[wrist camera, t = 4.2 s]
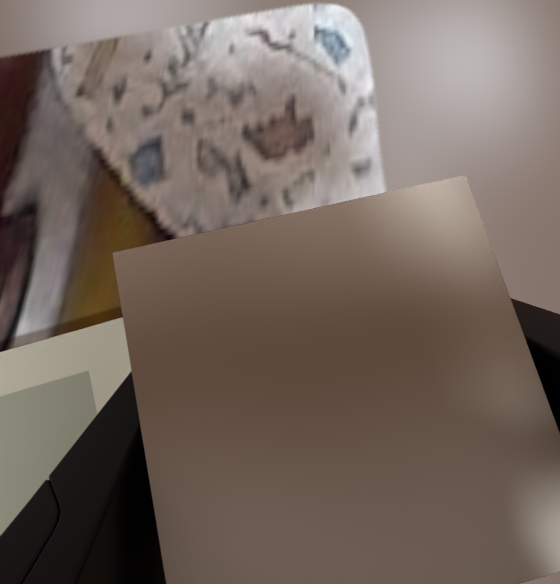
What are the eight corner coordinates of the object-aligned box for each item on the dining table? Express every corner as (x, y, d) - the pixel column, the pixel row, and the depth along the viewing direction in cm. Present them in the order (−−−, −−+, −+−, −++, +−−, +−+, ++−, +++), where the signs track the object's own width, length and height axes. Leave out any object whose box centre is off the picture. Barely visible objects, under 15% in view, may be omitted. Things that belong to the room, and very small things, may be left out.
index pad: (180, 558, 16) (177, 565, 16) (-54, 637, 16) (-67, 648, 15) (127, 318, 18) (122, 317, 18) (-83, 378, 18) (-96, 379, 17)
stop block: (364, 420, 18) (604, 558, 5) (248, 450, 17) (182, 684, 5) (333, 306, 19) (465, 174, 6) (223, 332, 18) (112, 253, 6)
